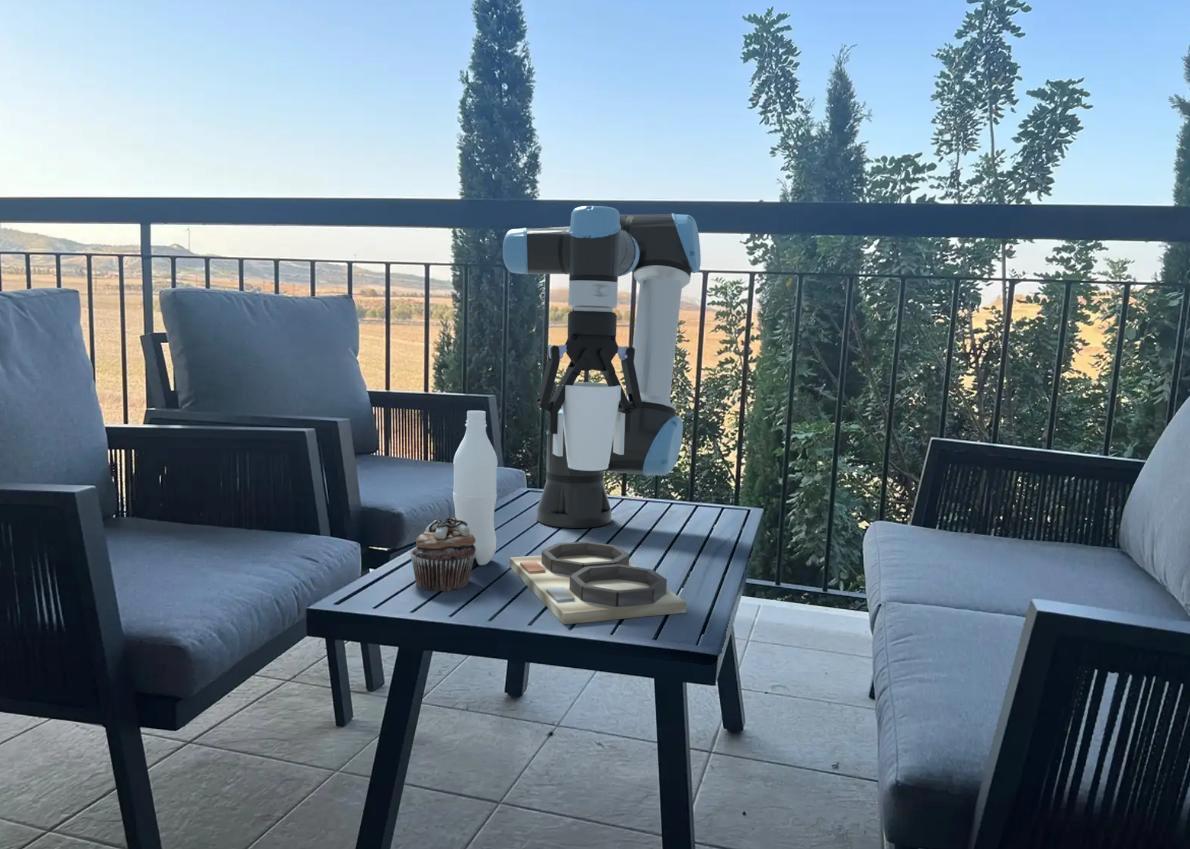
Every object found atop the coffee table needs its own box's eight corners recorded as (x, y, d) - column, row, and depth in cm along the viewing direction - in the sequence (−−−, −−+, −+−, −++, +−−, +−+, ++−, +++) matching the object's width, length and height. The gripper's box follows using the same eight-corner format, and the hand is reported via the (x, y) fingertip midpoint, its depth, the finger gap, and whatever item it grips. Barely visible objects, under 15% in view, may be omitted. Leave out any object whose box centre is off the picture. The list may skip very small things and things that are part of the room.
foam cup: (584, 460, 140) (587, 381, 139) (629, 467, 135) (632, 385, 133) (545, 466, 133) (547, 383, 132) (591, 474, 127) (594, 388, 126)
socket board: (509, 566, 139) (510, 545, 138) (612, 559, 145) (613, 539, 145) (563, 624, 113) (564, 598, 112) (685, 612, 119) (686, 588, 119)
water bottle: (488, 569, 137) (491, 414, 134) (446, 566, 138) (447, 412, 135) (500, 557, 144) (503, 410, 141) (460, 554, 145) (461, 408, 142)
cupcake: (450, 570, 136) (450, 508, 135) (487, 584, 129) (488, 519, 128) (397, 581, 129) (398, 516, 128) (434, 597, 122) (435, 529, 121)
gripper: (530, 307, 124) (526, 459, 126) (668, 312, 131) (662, 456, 134) (516, 307, 131) (513, 452, 133) (648, 312, 138) (643, 448, 141)
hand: (588, 454), depth 134 cm, fingers closed on foam cup, 9 cm apart
